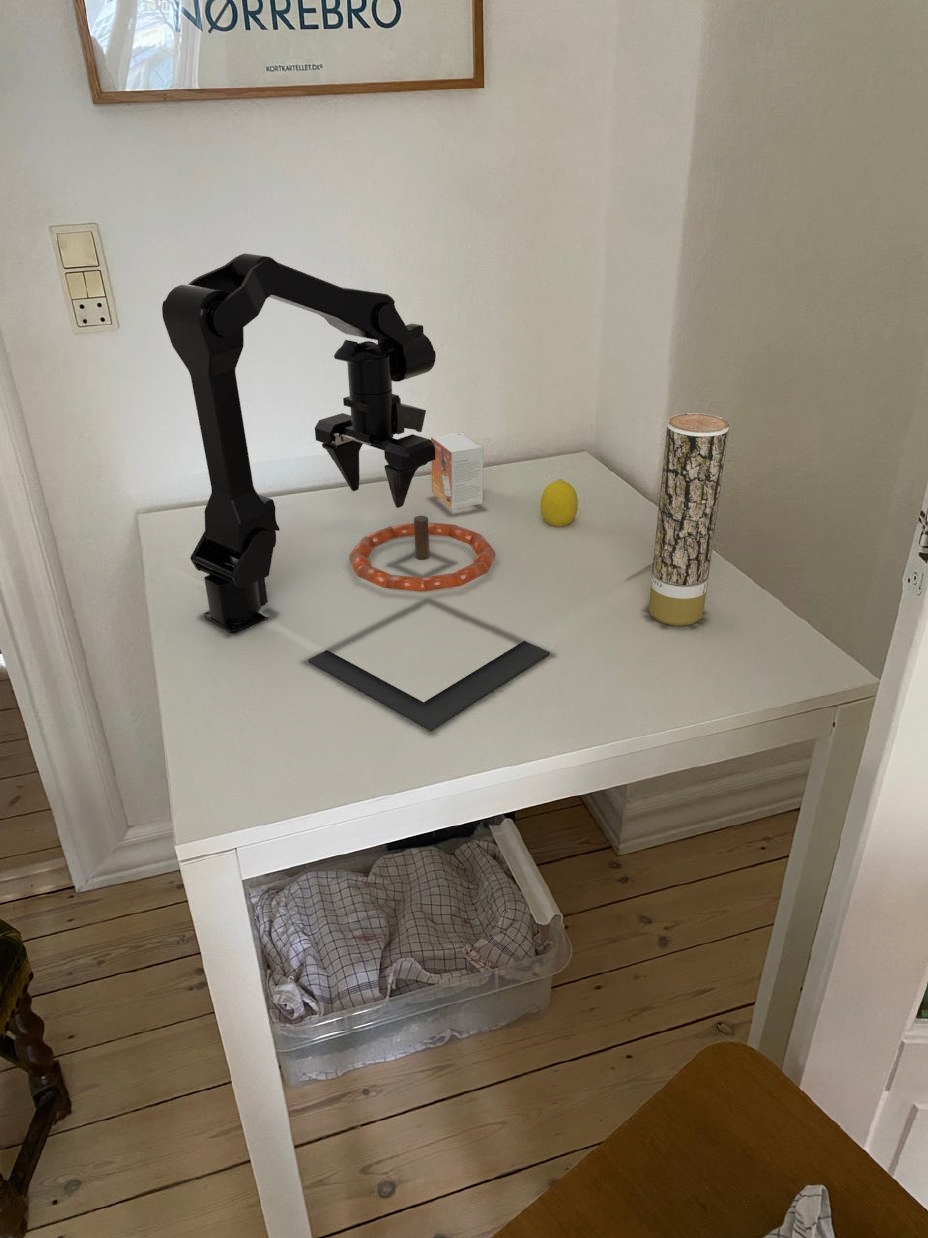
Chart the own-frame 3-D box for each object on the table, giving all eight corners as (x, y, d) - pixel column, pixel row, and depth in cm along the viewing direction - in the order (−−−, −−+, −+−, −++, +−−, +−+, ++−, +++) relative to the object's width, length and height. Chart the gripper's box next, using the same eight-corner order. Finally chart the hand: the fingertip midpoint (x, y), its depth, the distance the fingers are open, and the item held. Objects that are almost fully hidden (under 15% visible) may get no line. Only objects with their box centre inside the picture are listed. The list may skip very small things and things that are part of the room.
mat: (430, 731, 96) (430, 728, 95) (308, 662, 107) (308, 659, 107) (549, 654, 108) (549, 652, 108) (428, 600, 120) (428, 597, 120)
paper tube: (662, 632, 113) (685, 434, 100) (638, 606, 118) (657, 416, 106) (712, 624, 114) (740, 428, 102) (687, 598, 120) (710, 410, 107)
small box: (431, 498, 150) (429, 436, 145) (462, 492, 152) (461, 431, 147) (451, 516, 144) (450, 451, 138) (483, 510, 146) (484, 446, 140)
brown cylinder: (422, 578, 126) (421, 531, 122) (392, 565, 129) (389, 519, 126) (452, 563, 129) (452, 517, 126) (422, 551, 133) (420, 506, 129)
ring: (423, 613, 117) (422, 596, 116) (322, 567, 129) (321, 551, 128) (521, 561, 130) (522, 546, 129) (422, 523, 141) (421, 509, 140)
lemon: (576, 522, 141) (579, 473, 137) (576, 537, 136) (579, 486, 132) (540, 521, 142) (541, 472, 138) (539, 536, 137) (540, 485, 133)
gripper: (463, 389, 122) (463, 498, 130) (368, 365, 133) (374, 467, 141) (402, 408, 115) (407, 522, 123) (307, 381, 126) (317, 488, 134)
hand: (376, 498), depth 131 cm, fingers open, 9 cm apart
